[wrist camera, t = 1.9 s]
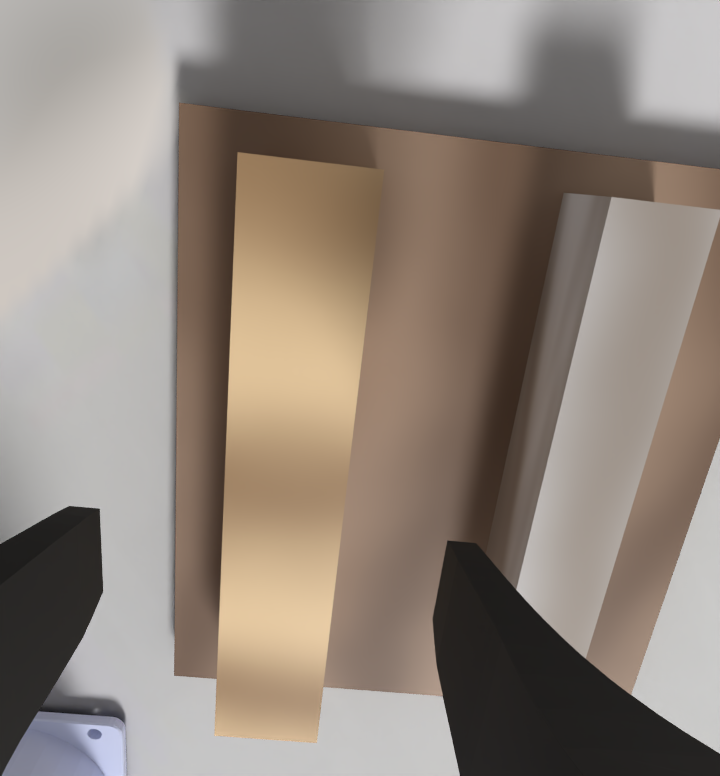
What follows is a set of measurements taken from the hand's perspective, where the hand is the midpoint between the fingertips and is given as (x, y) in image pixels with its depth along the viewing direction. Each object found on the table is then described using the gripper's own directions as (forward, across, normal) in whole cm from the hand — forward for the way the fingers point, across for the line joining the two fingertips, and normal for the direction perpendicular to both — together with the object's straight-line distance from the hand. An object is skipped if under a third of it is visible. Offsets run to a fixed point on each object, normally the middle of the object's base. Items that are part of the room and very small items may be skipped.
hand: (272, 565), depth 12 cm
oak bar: (+6, 0, 0) cm, 6 cm away
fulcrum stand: (+7, -4, 0) cm, 8 cm away
